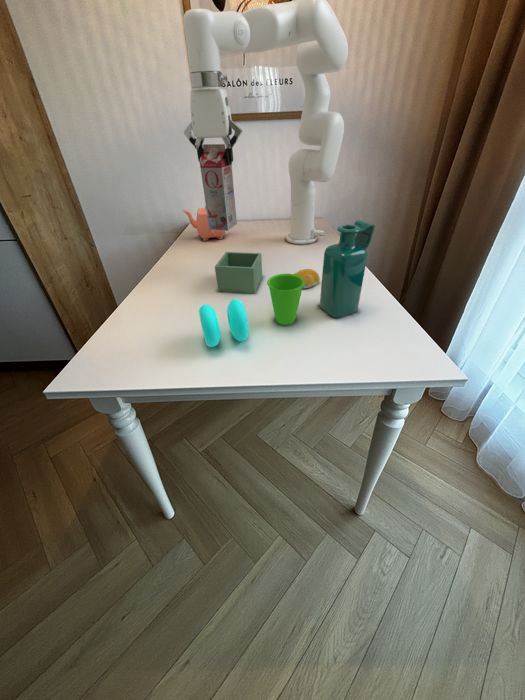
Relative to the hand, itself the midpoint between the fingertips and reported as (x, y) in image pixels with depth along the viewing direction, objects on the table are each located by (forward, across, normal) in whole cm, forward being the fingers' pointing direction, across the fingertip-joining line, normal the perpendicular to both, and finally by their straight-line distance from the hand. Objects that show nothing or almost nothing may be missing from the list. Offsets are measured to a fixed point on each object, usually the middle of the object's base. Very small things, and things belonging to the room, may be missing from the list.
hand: (216, 164), depth 88 cm
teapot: (+32, +18, -33) cm, 49 cm away
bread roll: (+32, -27, +6) cm, 43 cm away
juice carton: (+17, 0, 0) cm, 17 cm away
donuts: (+32, -12, +40) cm, 52 cm away
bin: (+32, -7, +10) cm, 34 cm away
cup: (+32, -25, +28) cm, 49 cm away
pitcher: (+32, -39, +20) cm, 54 cm away
